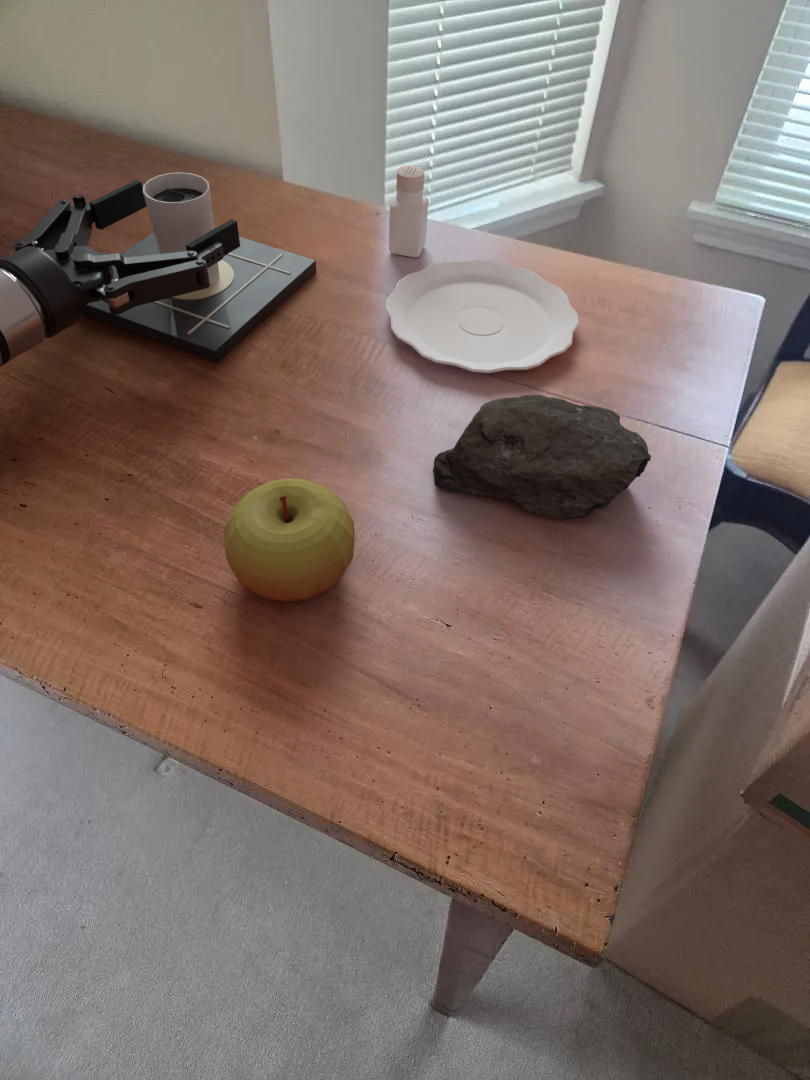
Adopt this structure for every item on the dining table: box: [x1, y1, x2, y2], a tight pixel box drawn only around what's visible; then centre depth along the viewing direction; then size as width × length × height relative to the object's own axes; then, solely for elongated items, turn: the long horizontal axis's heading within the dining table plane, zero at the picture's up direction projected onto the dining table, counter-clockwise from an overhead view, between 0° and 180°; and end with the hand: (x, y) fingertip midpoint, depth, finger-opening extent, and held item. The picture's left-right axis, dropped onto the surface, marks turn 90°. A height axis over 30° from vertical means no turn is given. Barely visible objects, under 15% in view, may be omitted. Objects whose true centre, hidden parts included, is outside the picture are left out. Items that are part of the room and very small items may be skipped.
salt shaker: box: [388, 164, 429, 258], centre depth 89 cm, size 4×4×10 cm
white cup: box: [142, 171, 219, 286], centre depth 80 cm, size 7×7×10 cm
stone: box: [432, 394, 652, 518], centre depth 65 cm, size 18×9×10 cm
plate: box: [384, 259, 580, 374], centre depth 83 cm, size 21×21×2 cm
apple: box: [223, 478, 356, 603], centre depth 57 cm, size 10×10×8 cm
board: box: [81, 231, 317, 364], centre depth 85 cm, size 20×20×2 cm
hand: (187, 212), depth 80 cm, fingers open, 13 cm apart
